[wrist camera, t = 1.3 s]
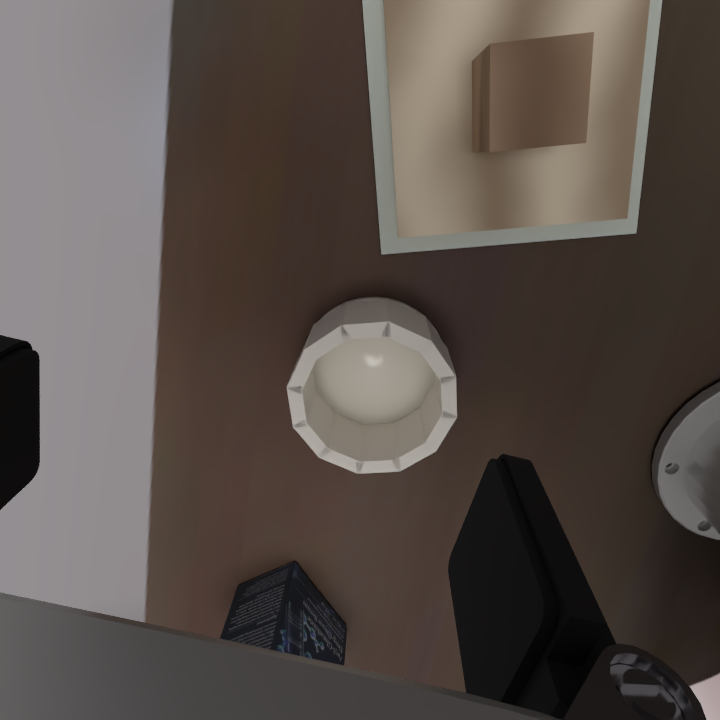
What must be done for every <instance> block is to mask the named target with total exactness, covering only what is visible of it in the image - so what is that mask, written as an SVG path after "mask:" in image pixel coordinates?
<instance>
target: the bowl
mask: <svg viewBox="0 0 720 720" xmlns="http://www.w3.org/2000/svg"><path fill="white" fill-rule="evenodd" d="M287 393H288V399H289V405H290V411H291V417H292V424H293V428H294V429H295V430H296V431H297V432H298V433H299V435H300V436H301V437H302V438H303V439H304V441H305V442H306V443H307V444H308V445H309V446H310V448H311V449H312V450H313V451H314V452H315V454H316V455H317V456H318V458H321V459H323V460H326V461H328V462H330V463H333V464H335V465H338V466H340V467H343V468H345V469H348V470H350V471H352V472H355V473H357V474H362V473H381V472H400V471H402V470H403V469H405V468H407V467H409V466H411V465H412V464H414V463H416V462H418V461H420V460H421V459H423V458H425V457H427V456H429V455H430V454H432V453H434V452H436V451H437V449H438V447H439V446H440V444H441V442H442V441H443V439H444V438H445V436H446V434H447V433H448V431H449V429H450V428H451V426H452V425H453V423H454V421H455V420H456V418H457V392H456V374H455V371H454V368H453V365H452V361H451V358H450V355H449V352H448V349H447V347H446V346H445V344H444V343H443V341H442V340H441V338H440V335H439V334H438V332H437V330H436V329H435V327H434V326H433V325H432V323H431V322H430V321H429V320H428V319H427V318H426V316H424V315H423V314H422V313H421V312H419V311H418V310H416V309H415V308H413V307H412V306H410V305H408V304H406V303H404V302H401V301H398V300H395V299H391V298H386V297H362V298H356V299H353V300H349V301H346V302H344V303H342V304H339V305H338V306H336V307H334V308H333V309H331V310H330V311H328V312H327V313H326V314H325V315H323V317H322V318H321V319H320V320H319V321H318V322H316V323H315V324H313V327H312V329H311V332H310V334H309V336H308V338H307V340H306V343H305V345H304V347H303V349H302V352H301V354H300V356H299V357H298V360H297V362H296V365H295V367H294V370H293V372H292V375H291V377H290V380H289V382H288V385H287Z"/></svg>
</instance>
